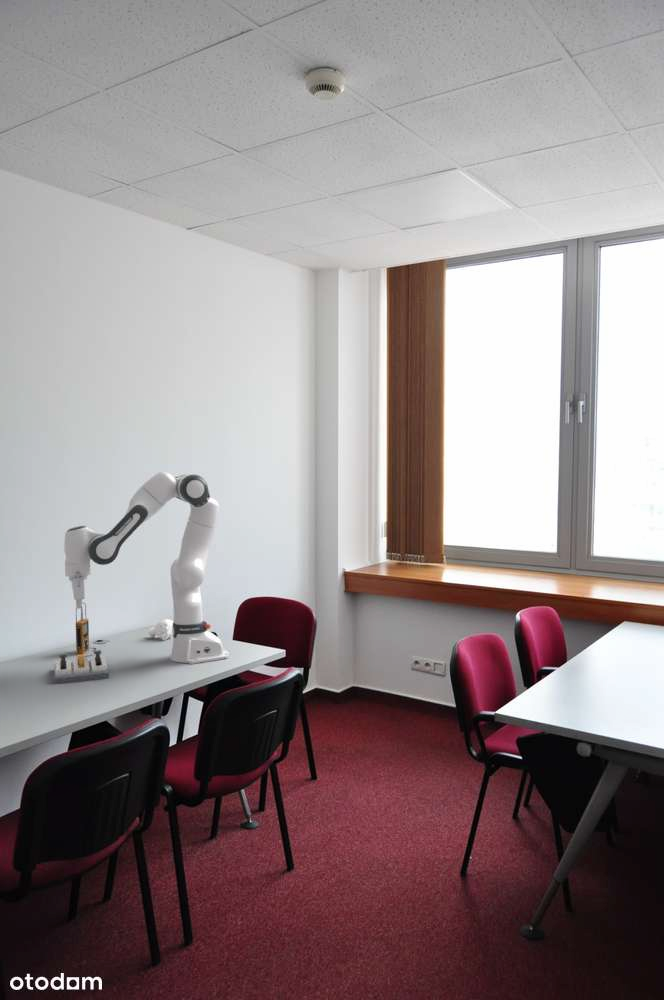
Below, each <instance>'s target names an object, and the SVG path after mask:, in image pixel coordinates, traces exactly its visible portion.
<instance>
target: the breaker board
mask: <svg viewBox="0 0 664 1000" xmlns="http://www.w3.org/2000/svg"><path fill="white" fill-rule="evenodd" d="M109 672H110V671H109V669H108V664H107V661H106V656H105V655H100V664H96V656H89V658H88V657H84V658H83V667H79V658H73V659H72V661H71V658H70V659H65V667H64V668H61V659H60V660H55V664H54V684H55V685H57V684H58V685H59V684H68V683H76V682H77V683H78V682H86V681H97V680H104V679H109V678H110V673H109Z"/></svg>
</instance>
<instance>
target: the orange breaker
mask: <svg viewBox="0 0 664 1000" xmlns="http://www.w3.org/2000/svg"><path fill="white" fill-rule="evenodd" d="M84 656H85V653H84V654H76V659H78V658H79V667H83V658H85V657H84Z"/></svg>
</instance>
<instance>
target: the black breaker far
mask: <svg viewBox="0 0 664 1000" xmlns="http://www.w3.org/2000/svg"><path fill="white" fill-rule="evenodd" d="M66 658H67V653H59V659H60V660H61V668H64V667H65V660H66Z"/></svg>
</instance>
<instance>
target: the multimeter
mask: <svg viewBox="0 0 664 1000" xmlns="http://www.w3.org/2000/svg"><path fill="white" fill-rule="evenodd" d="M83 604H84V606H85V610H84V613H85V614H84V613H83V608H80V619H79V620H78V619H77V618H78V617H77V614H75V646H76V647H75V648H76V649H75V650H76V655H80V654H84V658H87V657H92V656H94V655H95V654H94V653H90V654H87V655H85V654H86V653H87V652H89V651H90V631H89V629H90V628H89V627H90V625H89V619H88V618H84V615H85V617H87V606H86V603H85V602H83ZM77 610H78V609H77V607H76V606H75V613H77V612H78V611H77ZM92 651H93V652H94V651H97V648H96V647H93V650H92Z"/></svg>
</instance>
